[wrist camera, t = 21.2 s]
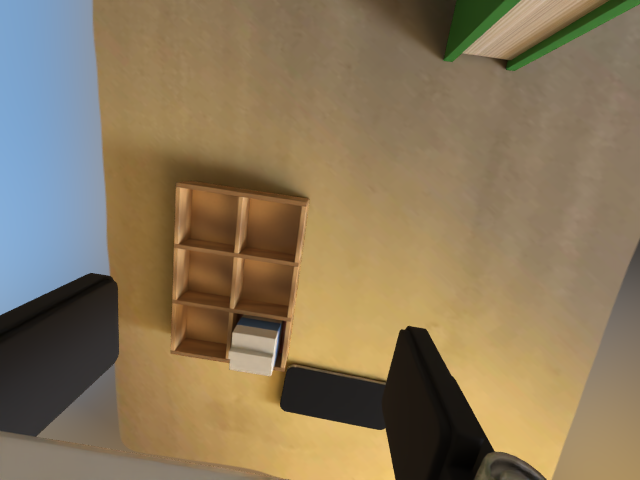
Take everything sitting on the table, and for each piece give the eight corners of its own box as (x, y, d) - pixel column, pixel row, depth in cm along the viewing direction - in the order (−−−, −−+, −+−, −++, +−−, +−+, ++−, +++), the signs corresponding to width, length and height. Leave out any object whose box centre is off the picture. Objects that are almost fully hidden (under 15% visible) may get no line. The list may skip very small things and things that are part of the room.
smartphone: (385, 431, 42) (278, 410, 42) (384, 427, 42) (279, 406, 42) (399, 387, 40) (287, 365, 40) (398, 383, 41) (288, 361, 41)
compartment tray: (191, 180, 36) (175, 182, 32) (309, 198, 35) (307, 202, 32) (184, 337, 41) (170, 353, 37) (288, 354, 40) (283, 372, 37)
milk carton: (246, 308, 38) (229, 335, 32) (284, 314, 38) (274, 342, 32) (242, 342, 39) (226, 374, 33) (279, 348, 39) (269, 381, 33)
